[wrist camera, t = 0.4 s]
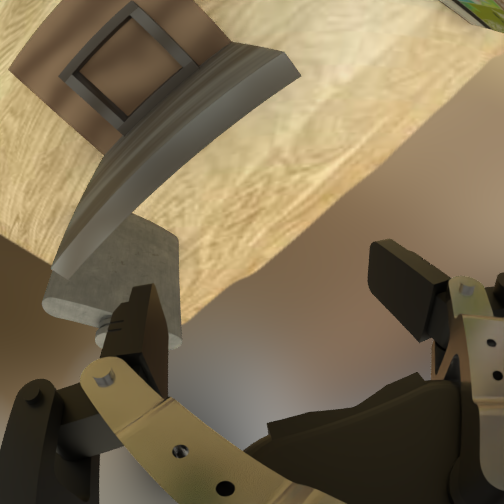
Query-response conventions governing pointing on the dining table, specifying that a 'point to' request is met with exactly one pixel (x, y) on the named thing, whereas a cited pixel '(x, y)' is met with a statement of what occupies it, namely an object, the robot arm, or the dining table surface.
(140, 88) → the wall board holder
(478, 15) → the tea box
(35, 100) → the dining table surface
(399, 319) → the robot arm
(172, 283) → the hip flask
